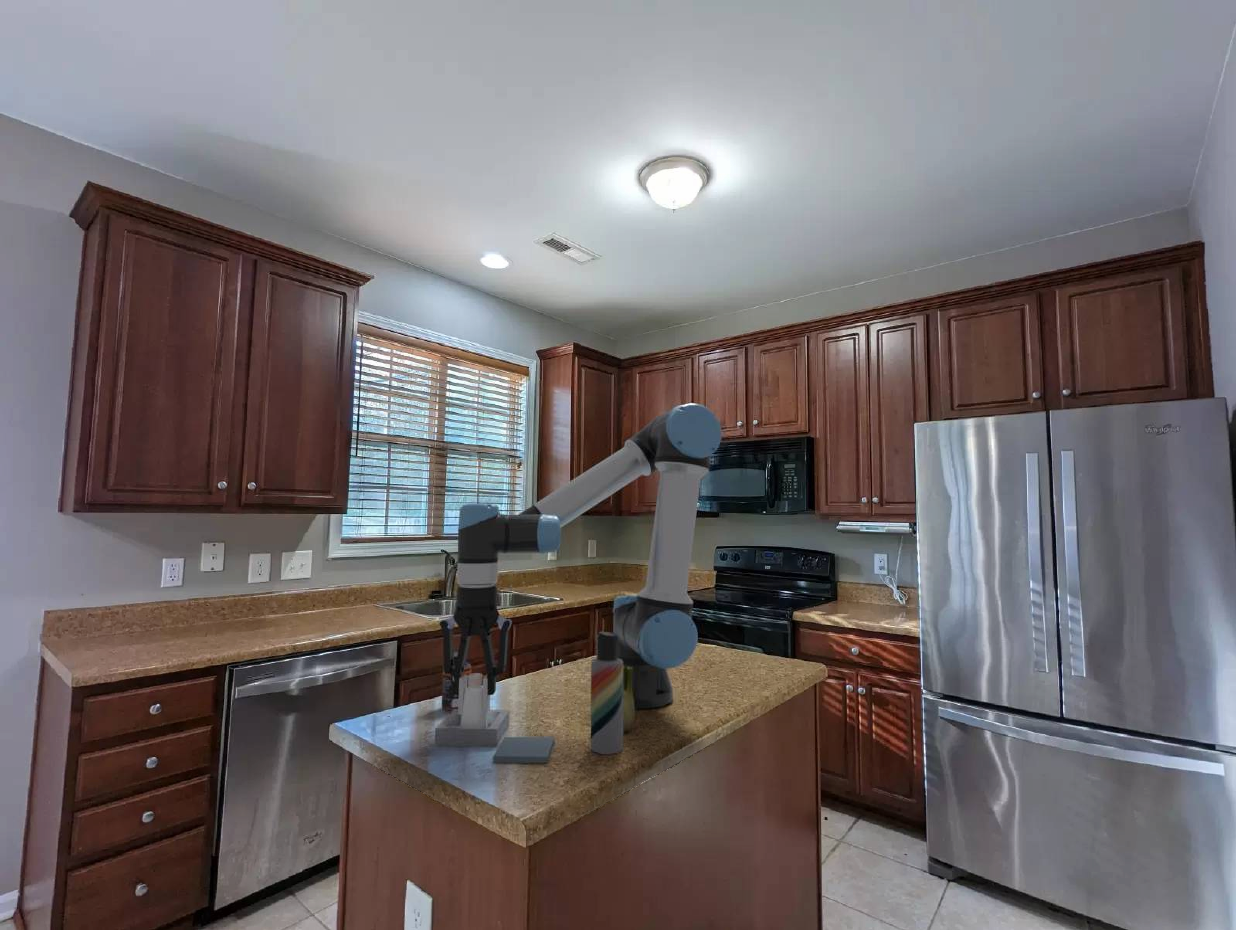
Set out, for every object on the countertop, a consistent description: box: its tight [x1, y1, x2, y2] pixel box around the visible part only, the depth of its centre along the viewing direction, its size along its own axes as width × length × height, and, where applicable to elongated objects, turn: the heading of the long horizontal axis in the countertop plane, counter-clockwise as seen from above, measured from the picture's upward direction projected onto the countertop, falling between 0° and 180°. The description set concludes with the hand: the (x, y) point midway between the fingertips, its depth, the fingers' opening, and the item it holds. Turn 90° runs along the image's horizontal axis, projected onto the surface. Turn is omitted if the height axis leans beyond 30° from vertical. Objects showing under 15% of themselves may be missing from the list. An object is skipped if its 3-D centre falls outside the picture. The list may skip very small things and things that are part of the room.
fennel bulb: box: [623, 666, 636, 735], centre depth 115 cm, size 6×5×12 cm
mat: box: [492, 736, 555, 764], centre depth 104 cm, size 9×9×1 cm
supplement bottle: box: [441, 651, 472, 713], centre depth 129 cm, size 6×6×11 cm
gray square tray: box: [434, 709, 510, 748], centre depth 112 cm, size 11×11×3 cm
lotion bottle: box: [590, 631, 624, 755], centre depth 106 cm, size 6×6×20 cm
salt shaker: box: [460, 672, 488, 726], centre depth 113 cm, size 5×5×11 cm
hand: (474, 712), depth 112 cm, fingers closed on salt shaker, 4 cm apart
